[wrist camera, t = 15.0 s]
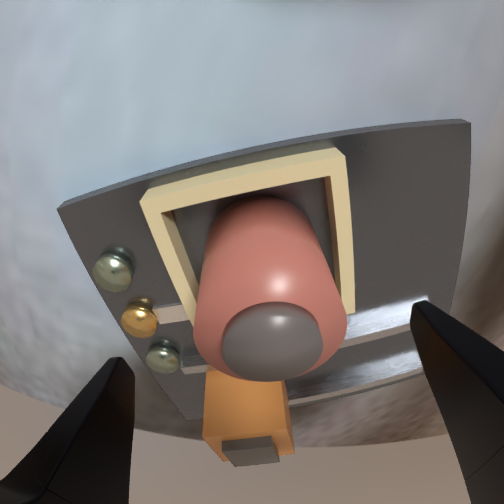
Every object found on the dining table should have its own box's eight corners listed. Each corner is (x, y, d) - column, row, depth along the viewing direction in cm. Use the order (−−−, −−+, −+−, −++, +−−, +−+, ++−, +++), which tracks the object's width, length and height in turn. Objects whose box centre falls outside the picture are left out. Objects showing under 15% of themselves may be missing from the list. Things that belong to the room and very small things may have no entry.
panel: (460, 118, 11) (481, 127, 10) (428, 363, 20) (435, 379, 19) (64, 201, 13) (48, 217, 11) (187, 411, 22) (185, 429, 20)
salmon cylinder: (320, 278, 14) (352, 380, 10) (222, 298, 15) (218, 403, 10) (307, 185, 12) (351, 273, 7) (192, 210, 12) (166, 309, 8)
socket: (335, 147, 11) (345, 156, 10) (348, 295, 15) (355, 312, 14) (147, 189, 12) (139, 201, 11) (202, 324, 16) (200, 342, 15)
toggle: (277, 355, 17) (287, 439, 13) (286, 389, 19) (296, 462, 14) (206, 366, 17) (201, 448, 13) (224, 398, 19) (223, 470, 15)
